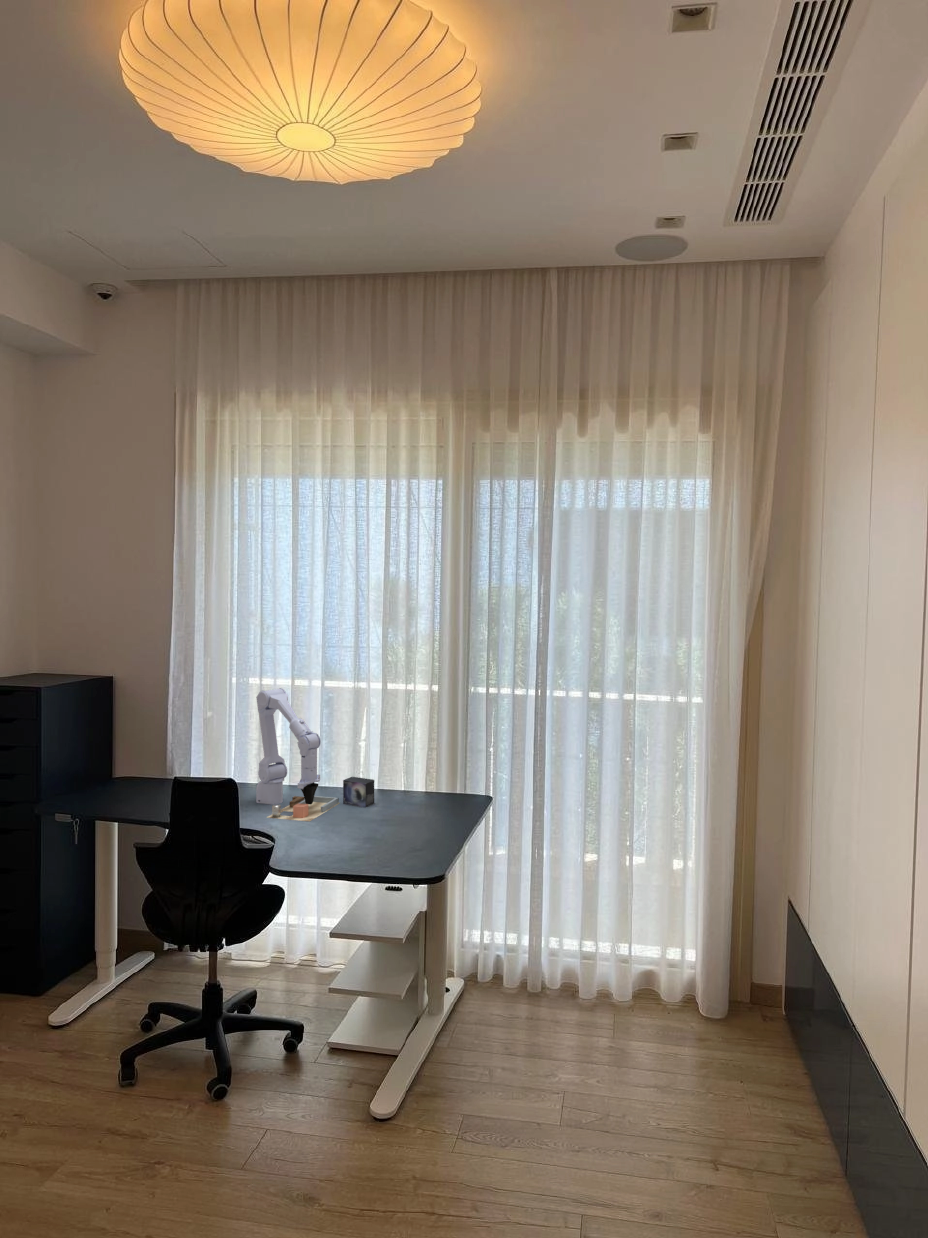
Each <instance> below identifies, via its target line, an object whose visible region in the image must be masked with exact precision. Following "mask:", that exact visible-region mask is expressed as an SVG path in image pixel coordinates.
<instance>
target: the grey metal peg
mask: <svg viewBox="0 0 928 1238" xmlns="http://www.w3.org/2000/svg"><path fill="white" fill-rule="evenodd" d="M281 806H282V805H281V804H271V815H272V817H273V818H272V819H276V818H279V817H281V814H282V812H281V809H282V808H281Z"/></svg>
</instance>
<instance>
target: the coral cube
mask: <svg viewBox="0 0 928 1238" xmlns="http://www.w3.org/2000/svg"><path fill="white" fill-rule="evenodd" d="M292 815H293V817H296V818H304V817H306V816H308V804H300V803H298V804H296V805H294V806H293V812H292Z"/></svg>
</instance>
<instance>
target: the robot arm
mask: <svg viewBox="0 0 928 1238" xmlns="http://www.w3.org/2000/svg"><path fill="white" fill-rule="evenodd" d="M256 704H257V712H258V717H259V725H260V726H259V727H260V734H261V743H262V748H263V749H262V750H263V757H262V759H261V760H260V761H259V762H258V779H259V782H258V783H257V785H256V791H255V795H256V797H255V798H256V802H255V803H257V804H263V805H277V804H278V805H280V804H282V803H283V801H284V794H283V793H284V792H283V791H284V788H283V787H284V785H283V783H284V781H285V778H286V777H287V776H288V767H287V765H286V762H285V758H283V756H280V755H279V748H278V740H277V739H278V738H277V733H276V732H277V731H276V723H275V716H274V714H275V712H276V711H277V710H278V711H279V712H280V713H281V714H282V716H283V717H284V718H285V719H286V721H287V722H288V723H289V730H290V731H291V732H292V734H293V735H294V737H295V739H296V740H297V741H298V742H297V747H298V749H299V755H300V771H301V773H300V774H301V775H300V780H299V782H297V789H300V790H301V792H302V795H303V797H304V800H305V803H306V804H312V803H313V799H314V796H316V795H315V794H316V792H317V789H318V787H319V782H320V781H321V774H318V749H319V747H320V746H321V743H322V742H321V738H320V736H319V734H318V733H317V732H314V731H313V730H311V729H310V727H309V726H308V725H307V724H306V722H305V720H304V719H303V718H301V717H298V716H297V714H296V713H295V711H294V709H293V707H292V705H291V704H290V702H289V695H288V693H287V692H286V690H285V689H284V688H282V687H279V688H274V689H267V690H265V689H264V690H263V689H262V690H260V691H259V692H258V694H257V695H256Z"/></svg>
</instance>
